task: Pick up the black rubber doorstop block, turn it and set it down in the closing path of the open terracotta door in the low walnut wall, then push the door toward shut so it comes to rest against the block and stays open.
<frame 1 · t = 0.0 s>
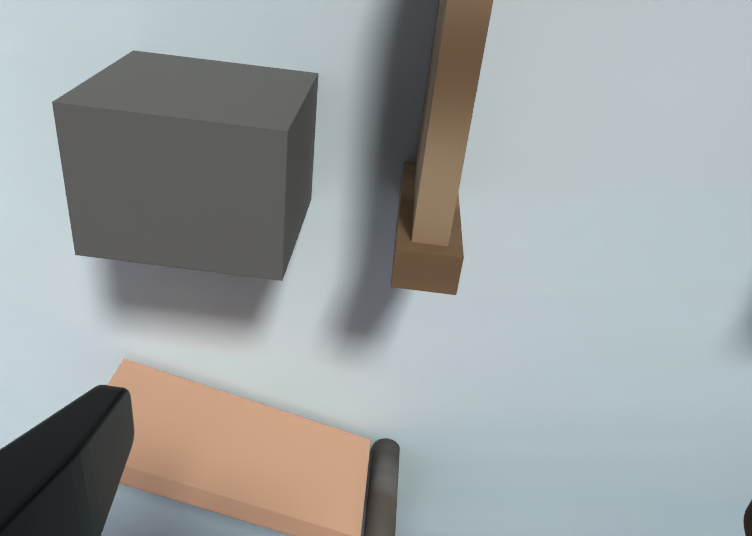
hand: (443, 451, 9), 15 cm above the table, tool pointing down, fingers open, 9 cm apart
door: (232, 451, 27), point 3 cm above the table, hinge at 75.0°
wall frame: (416, 256, 25), on the table
doorstop block: (227, 128, 23), on the table
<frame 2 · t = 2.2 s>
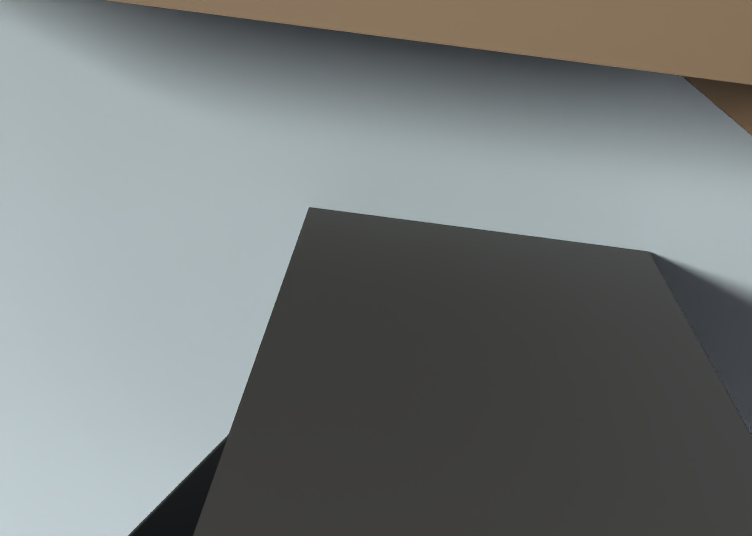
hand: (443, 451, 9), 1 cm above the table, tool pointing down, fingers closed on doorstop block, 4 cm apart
doorstop block: (442, 399, 10), on the table, touching gripper
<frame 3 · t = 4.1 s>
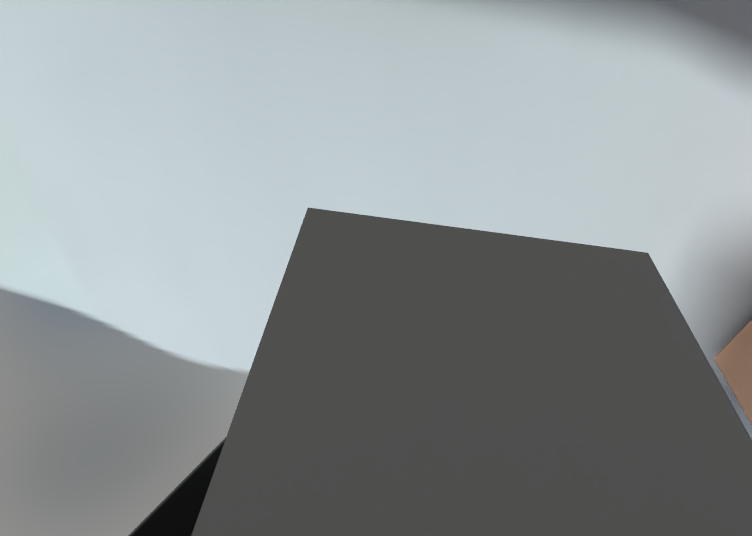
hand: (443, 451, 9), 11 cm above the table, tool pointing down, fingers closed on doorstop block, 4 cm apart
doorstop block: (440, 400, 10), point 10 cm above the table, touching gripper
when the fingers open (2 cm above the table, at t = 6.3 s): doorstop block drops 2 cm, on the table.
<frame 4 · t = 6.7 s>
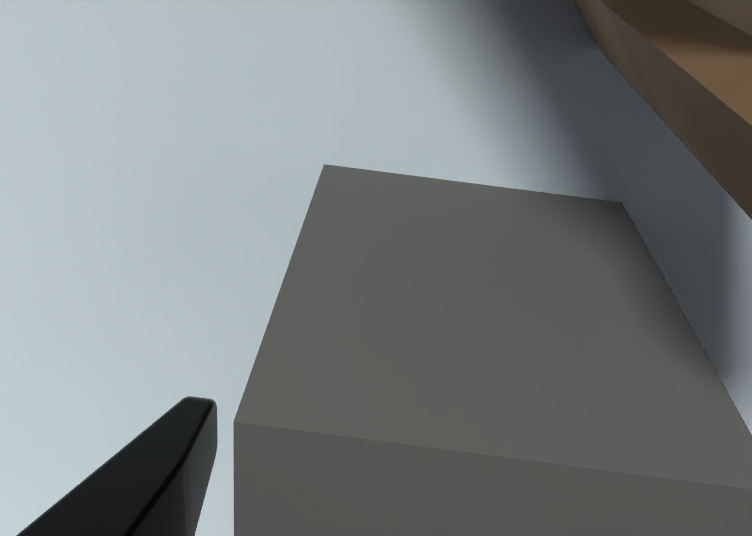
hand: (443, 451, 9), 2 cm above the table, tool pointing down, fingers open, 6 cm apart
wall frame: (729, 158, 10), on the table
doorstop block: (441, 338, 12), on the table
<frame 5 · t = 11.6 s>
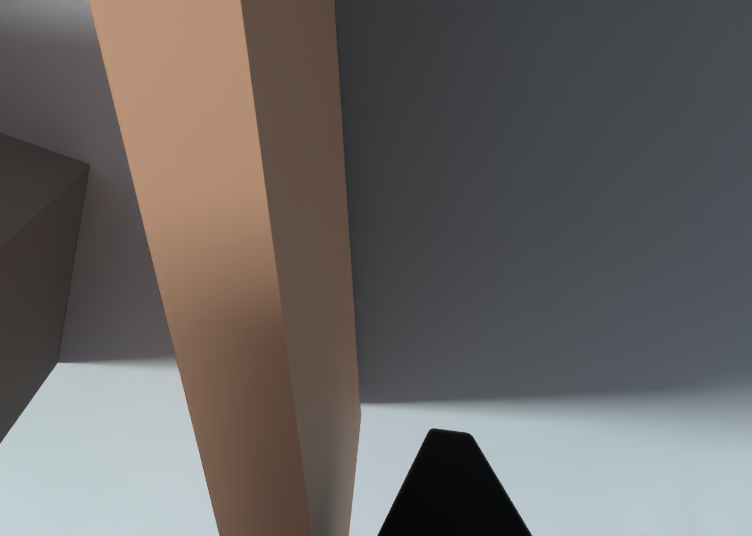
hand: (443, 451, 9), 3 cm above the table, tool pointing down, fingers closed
door: (281, 225, 8), point 3 cm above the table, hinge at 73.0°, touching gripper
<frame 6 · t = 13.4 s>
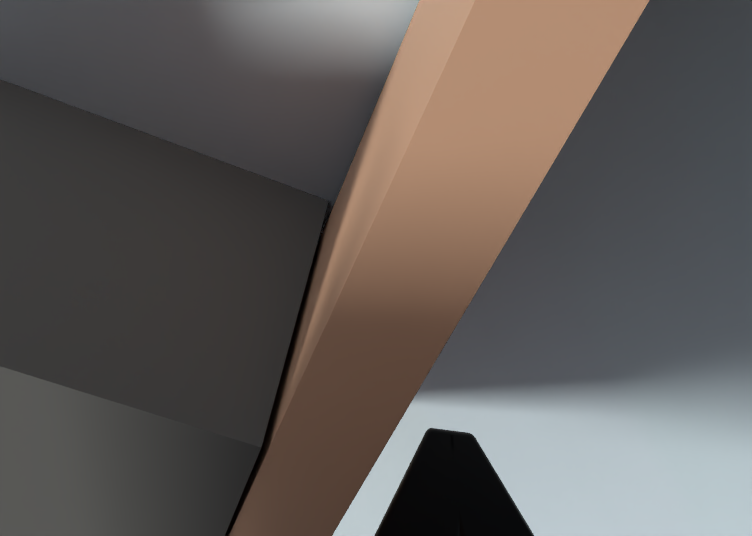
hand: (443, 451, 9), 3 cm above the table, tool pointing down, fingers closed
door: (382, 232, 8), point 3 cm above the table, hinge at 48.2°, touching doorstop block, gripper
doorstop block: (127, 246, 12), on the table, touching door
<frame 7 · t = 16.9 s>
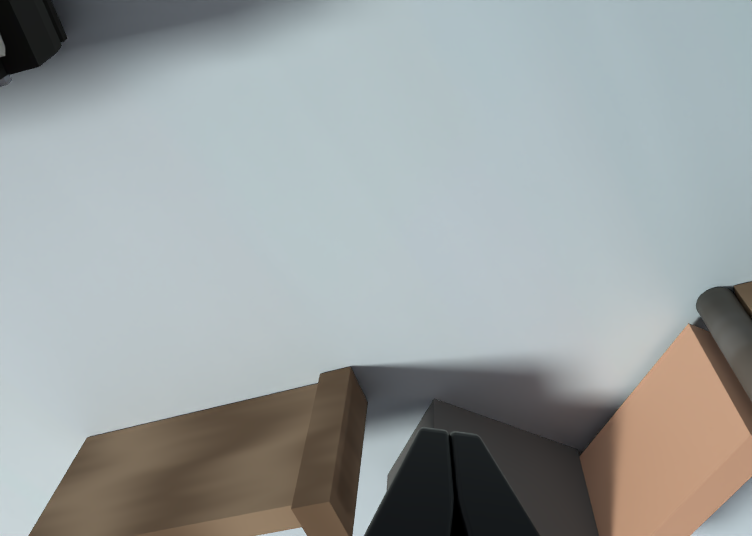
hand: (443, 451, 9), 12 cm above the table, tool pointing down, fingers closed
door: (626, 492, 23), point 3 cm above the table, hinge at 48.4°
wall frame: (421, 370, 24), on the table
doorstop block: (479, 461, 26), on the table
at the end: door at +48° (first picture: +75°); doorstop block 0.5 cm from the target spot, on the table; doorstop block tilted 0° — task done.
